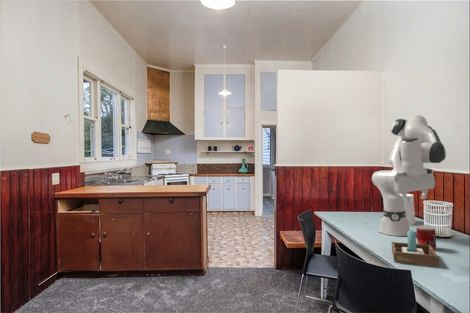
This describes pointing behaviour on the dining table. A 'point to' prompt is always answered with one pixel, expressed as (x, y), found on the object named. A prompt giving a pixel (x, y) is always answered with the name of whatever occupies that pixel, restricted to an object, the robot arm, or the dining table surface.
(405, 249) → the plate
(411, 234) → the peg
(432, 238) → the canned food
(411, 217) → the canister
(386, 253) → the dining table surface
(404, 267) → the dining table surface
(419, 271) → the dining table surface
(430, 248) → the box
